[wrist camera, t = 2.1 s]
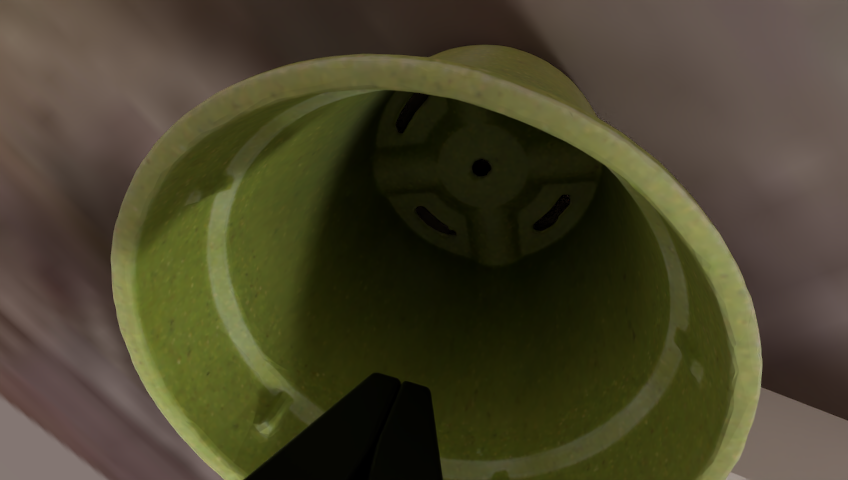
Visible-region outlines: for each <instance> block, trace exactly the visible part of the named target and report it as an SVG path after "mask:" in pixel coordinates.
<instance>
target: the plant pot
mask: <svg viewBox="0 0 848 480" xmlns="http://www.w3.org/2000/svg"><path fill="white" fill-rule="evenodd" d="M414 93H423V94H428V99H427V100H426V101H425V102H424V103H423V104H422V105H421V107H420V108H419V109H418V110H417V111H416V112H415V114H414V115H413V117H412V118H411V120H410V122H409V123H408V125H407V127H406V129H405V131H404V132H403V133H399V132H398V129H397V127H396V121H397V119H398V116H399V114H400V113H401V111H402V110H403V108H404V106H405V105H406V103H407V101H408V100H409V99H410V98H411V97H412V96H413V94H414ZM481 158H482V159H484V160H487V161H488V162H489V164H490V165H491V171H490V172H489V173H488V174H487V175H486V176H477V175H475V174H474V173H473V171H472V165H473V163H474V162H475V161H477V160H479V159H481ZM563 194H567V195H569V198H570V205H569V206H568V207H567V208H566V209H565V210H564V211H563V212H562V213H561V214H560V215H559V217H558V220H557V221H556V222H555V224H553V225H552V226H550V227H549V228H547V229H545V230H543V231H537V230H535V229H534V223H535V222H537V220H540V218H541V217H542V216H543V215H545V214H546V213H547V212H548V211H549V210H550V209H551V208H552V207H553V206H554V205H555V203H557V202H558V200H559V198H560V196H561V195H563ZM418 206H423V207H425V208H426V209H427V210H428V212H430V213H431V214H432V215H434V216H435V217H436V218H437V219H438V220H439V221H441V222H442V223H443V224H445V225H447V226H448V227H449V229H450V230H454V231H455V232H456V235H454V234H453V235H449V234H445V233H442V232H440V231H437V230H435V229H433V228H432V227H430V226H428V225H427V224H426V223H425V222H424V221H423V220H422V219H421V218H420V217H419V216H418V214H417V212H416V208H417V207H418ZM111 273H112V289H113V298H114V303H115V307H116V313H117V319H118V323H119V327H120V331H121V334H122V336H123V338H124V341H125V344H126V346H127V349H128V351H129V353H130V356H131V360H132V362H133V365H134V367H135V369H136V371H137V373H138V374H139V376H140V379H141V381H142V382H143V384H144V386H145V388H146V390H147V391H148V393H149V395H150V396H151V397H152V399H153V400H154V402H155V404H156V405H157V407H158V408H159V409H160V411H161V412H162V414H163V415H164V416H165V418H166V419H167V420H168V421H169V423H170V424H171V425H172V427H173V428H174V429H175V430H176V432H177V433H178V434H179V435H180V436H181V437H182V438H183V439H184V441H185V442H186V443H187V444H188V445H189V446H190V447H191V448H192V449H193V450H194V451H195V453H196V454H197V455H198V456H199V457H200V458H201V459H202V460H203V461H204V462H205V463H206V464H207V465H208V466H209V467H211V468H212V469H213V470H214V471H216V472H217V473H218V474H219V475H220V476H221V477H222V478H223V479H225V480H243V479H245V478H246V477H247V476H248V475H249V474H251V473H252V472H253V471H254V470H255V469H257V468H258V467H259V466H260V465H262V464H263V463H264V462H265V461H266V460H268V459H269V458H270V457H271V456H272V455H274V454H275V453H276V452H277V451H279V450H280V449H281V448H282V447H283V446H285V445H286V444H287V443H288V442H289V441H291V440H292V439H293V438H294V437H295V436H297V435H298V434H299V433H300V432H302V431H303V430H304V429H305V428H306V427H308V426H309V425H310V424H311V423H312V422H314V421H315V420H316V419H317V418H319V417H320V416H321V415H322V414H323V413H325V412H326V411H327V410H328V409H329V408H331V407H332V406H333V405H334V404H335V403H337V402H338V401H339V400H340V399H342V398H343V397H344V396H345V395H346V394H348V393H349V392H350V391H351V390H352V389H354V388H355V387H356V386H357V385H359V384H360V383H361V382H362V381H363V380H365V379H366V378H367V377H368V376H370V375H371V374H372V373H376V372H377V373H381V374H385V375H388V376H392V377H395V378H398V379H399V380H400V382H401V383H403V382H404V381H409V382H412V383H416V384H419V385H423V386H426V387H428V388H429V389H430V391H431V396H432V403H433V410H434V417H435V424H436V432H437V439H438V446H439V453H440V460H441V468H442V475H443V480H726V478H727V477H728V475H729V473H730V472H731V470H732V469H733V467H734V466H735V464H736V463H737V462H738V460H739V459H740V457H741V454H742V452H743V450H744V447H745V443H746V440H747V437H748V434H749V431H750V429H751V426H752V424H753V422H754V418H755V413H756V409H757V405H758V400H759V396H760V389H761V376H762V356H761V341H760V335H759V329H758V324H757V319H756V314H755V310H754V306H753V302H752V298H751V296H750V294H749V292H748V290H747V288H746V284H745V281H744V278H743V276H742V274H741V271H740V269H739V267H738V265H737V263H736V261H735V260H734V258H733V256H732V255H731V253H730V251H729V249H728V247H727V246H726V244H725V242H724V240H723V239H722V237H721V235H720V234H719V232H718V231H717V229H716V228H715V226H714V225H713V224H712V222H711V221H710V220H709V218H708V217H707V216H706V214H705V213H704V211H703V210H702V209H701V207H700V206H699V205H698V203H697V202H696V201H695V199H694V198H693V197H692V196H691V195H690V194H689V193H688V191H687V190H686V189H685V188H684V187H683V186H682V185H681V184H680V183H679V182H678V181H677V180H676V178H675V177H674V176H673V175H672V174H671V173H670V172H669V171H668V170H667V169H666V168H665V167H664V166H663V165H662V164H661V163H660V162H659V161H658V160H656V159H655V158H654V157H653V156H651V155H650V154H649V153H647V152H646V151H645V150H644V149H642V148H641V147H640V146H638V145H637V144H636V143H635V142H633V141H632V140H631V139H629V138H628V137H627V136H626V135H624V134H623V133H622V132H620V131H618V130H617V129H615V128H613V127H612V126H610V125H608V124H607V123H605V122H603V121H602V120H600V119H598V117H597V116H596V114H595V112H594V111H593V109H592V107H591V106H590V104H589V103H588V101H587V100H586V98H585V96H584V95H583V94H582V92H581V91H580V90H579V89H578V88H577V86H576V85H575V84H574V83H573V82H572V81H571V80H570V79H569V78H568V77H567V76H566V75H565V74H563V73H562V72H561V71H560V70H558V69H557V68H555V67H554V66H552V65H551V64H550V63H548V62H546V61H544V60H543V59H541V58H539V57H537V56H534V55H532V54H529V53H527V52H524V51H521V50H518V49H515V48H511V47H506V46H499V45H471V46H464V47H458V48H453V49H449V50H446V51H443V52H440V53H437V54H435V55H433V56H430V57H419V56H407V55H389V54H353V55H342V56H331V57H322V58H317V59H311V60H306V61H300V62H296V63H292V64H289V65H285V66H281V67H278V68H275V69H272V70H269V71H266V72H263V73H260V74H258V75H255V76H252V77H250V78H248V79H245V80H243V81H241V82H238V83H236V84H234V85H232V86H230V87H228V88H226V89H224V90H222V91H220V92H218V93H216V94H214V95H213V96H211V97H210V98H208V99H207V100H205V101H204V102H202V103H201V104H199V105H198V106H196V107H195V108H193V109H192V110H190V111H189V112H188V113H186V114H185V115H184V116H182V117H181V118H180V119H179V120H178V121H177V122H176V123H175V124H174V125H173V126H172V127H171V128H170V129H169V130H168V131H167V132H166V133H165V134H164V135H163V136H162V137H161V138H160V139H159V140H158V141H157V142H156V143H155V144H154V146H153V147H152V149H151V150H150V152H149V153H148V155H147V156H146V157H145V158H144V160H143V161H142V163H141V164H140V166H139V167H138V169H137V170H136V172H135V175H134V177H133V179H132V181H131V184H130V186H129V188H128V190H127V193H126V195H125V197H124V199H123V202H122V205H121V208H120V211H119V215H118V218H117V220H116V223H115V228H114V233H113V241H112V250H111Z"/></svg>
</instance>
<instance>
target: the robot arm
mask: <svg viewBox="0 0 848 480" xmlns="http://www.w3.org/2000/svg"><path fill="white" fill-rule="evenodd" d="M243 480H443V475H442V468H441V460H440V453H439V446H438V439H437V432H436V424H435V417H434V410H433V403H432V396H431V391H430V389H429V388H428V387H426V386H423V385H419V384H416V383H412V382H409V381H404V382H403V383H401V382H400V380H399V379H398V378H395V377H392V376H388V375H385V374H381V373H377V372H376V373H372V374H371V375H370V376H368V377H367V378H366V379H365V380H363V381H362V382H361V383H360V384H359V385H357V386H356V387H355V388H354V389H352V390H351V391H350V392H349V393H348V394H346V395H345V396H344V397H343V398H342V399H340V400H339V401H338V402H337V403H335V404H334V405H333V406H332V407H331V408H329V409H328V410H327V411H326V412H325V413H323V414H322V415H321V416H320V417H319V418H317V419H316V420H315V421H314V422H312V423H311V424H310V425H309V426H308V427H306V428H305V429H304V430H303V431H302V432H300V433H299V434H298V435H297V436H295V437H294V438H293V439H292V440H291V441H289V442H288V443H287V444H286V445H285V446H283V447H282V448H281V449H280V450H279V451H277V452H276V453H275V454H274V455H272V456H271V457H270V458H269V459H268V460H266V461H265V462H264V463H263V464H262V465H260V466H259V467H258V468H257V469H255V470H254V471H253V472H252V473H251V474H249V475H248V476H247V477H246V478H245V479H243Z"/></svg>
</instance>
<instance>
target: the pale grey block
mask: <svg viewBox="0 0 848 480" xmlns="http://www.w3.org/2000/svg"><path fill="white" fill-rule="evenodd" d="M726 480H848V421H847V420H845V419H842V418H840V417H837V416H834V415H832V414H829V413H827V412H824V411H822V410H819V409H816V408H814V407H811V406H809V405H806V404H803V403H801V402H798V401H796V400H793V399H791V398H788V397H785V396H783V395H780V394H778V393H775V392H772V391H770V390H767V389H765V388H762V387H761V389H760V396H759V400H758V405H757V409H756V413H755V418H754V422H753V424H752V426H751V429H750V431H749V434H748V437H747V440H746V443H745V447H744V450H743V452H742V454H741V457H740V459H739V460H738V462H737V463H736V464H735V466H734V467H733V469H732V470H731V472H730V473H729V475H728V477H727V478H726Z"/></svg>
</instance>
